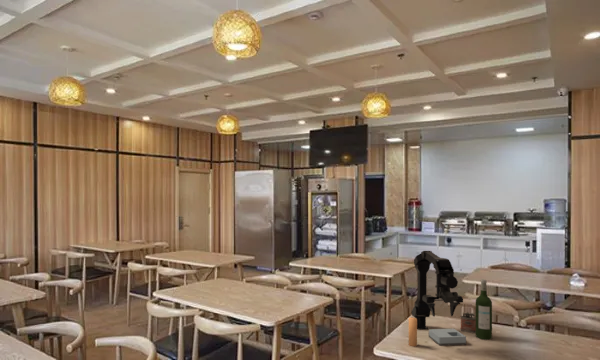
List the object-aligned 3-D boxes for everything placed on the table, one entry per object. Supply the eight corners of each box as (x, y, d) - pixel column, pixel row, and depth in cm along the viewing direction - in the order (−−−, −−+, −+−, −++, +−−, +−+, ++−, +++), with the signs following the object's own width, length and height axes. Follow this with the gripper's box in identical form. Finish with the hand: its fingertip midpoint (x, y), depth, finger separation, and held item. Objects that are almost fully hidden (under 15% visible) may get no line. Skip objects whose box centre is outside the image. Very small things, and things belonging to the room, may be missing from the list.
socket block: (428, 337, 215) (428, 329, 215) (454, 336, 217) (454, 328, 217) (439, 345, 203) (439, 337, 203) (466, 344, 205) (466, 336, 205)
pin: (407, 343, 205) (407, 317, 205) (414, 343, 206) (415, 317, 206) (410, 346, 201) (410, 320, 201) (418, 346, 202) (418, 319, 202)
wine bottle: (488, 335, 219) (488, 278, 220) (494, 340, 211) (494, 281, 212) (473, 334, 220) (473, 278, 221) (478, 339, 212) (478, 281, 213)
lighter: (460, 330, 226) (460, 312, 226) (460, 328, 229) (460, 310, 229) (475, 333, 222) (475, 314, 222) (476, 331, 225) (476, 312, 225)
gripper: (431, 287, 195) (431, 321, 194) (468, 287, 197) (469, 320, 196) (421, 283, 206) (422, 314, 205) (457, 282, 208) (457, 314, 207)
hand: (442, 316), depth 203 cm, fingers open, 9 cm apart
